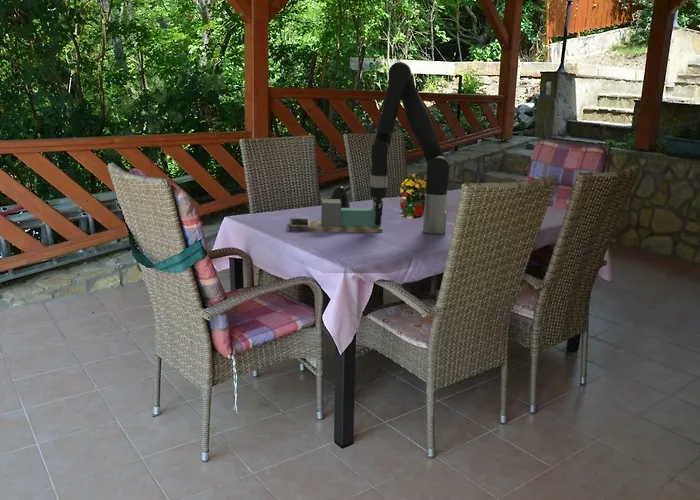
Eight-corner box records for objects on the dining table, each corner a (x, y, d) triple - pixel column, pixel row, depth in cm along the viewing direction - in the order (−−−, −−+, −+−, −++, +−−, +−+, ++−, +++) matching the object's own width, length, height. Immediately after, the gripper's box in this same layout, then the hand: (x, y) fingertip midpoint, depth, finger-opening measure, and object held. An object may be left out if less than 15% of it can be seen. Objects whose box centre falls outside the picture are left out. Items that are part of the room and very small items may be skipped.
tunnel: (339, 222, 282) (339, 199, 279) (340, 227, 274) (341, 203, 271) (321, 222, 282) (321, 199, 279) (322, 226, 274) (322, 203, 271)
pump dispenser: (353, 219, 295) (354, 187, 291) (332, 220, 291) (333, 188, 287) (345, 214, 304) (346, 183, 300) (325, 216, 301) (325, 184, 296)
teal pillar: (379, 223, 282) (380, 208, 280) (380, 226, 277) (381, 210, 275) (339, 223, 281) (339, 207, 279) (340, 225, 276) (340, 210, 274)
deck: (378, 224, 287) (378, 219, 286) (382, 232, 274) (382, 227, 273) (289, 223, 283) (289, 218, 283) (289, 231, 270) (289, 225, 269)
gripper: (389, 188, 268) (387, 227, 273) (385, 182, 282) (383, 219, 287) (372, 188, 268) (370, 227, 272) (368, 182, 281) (366, 219, 286)
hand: (376, 223), depth 279 cm, fingers closed on teal pillar, 5 cm apart
